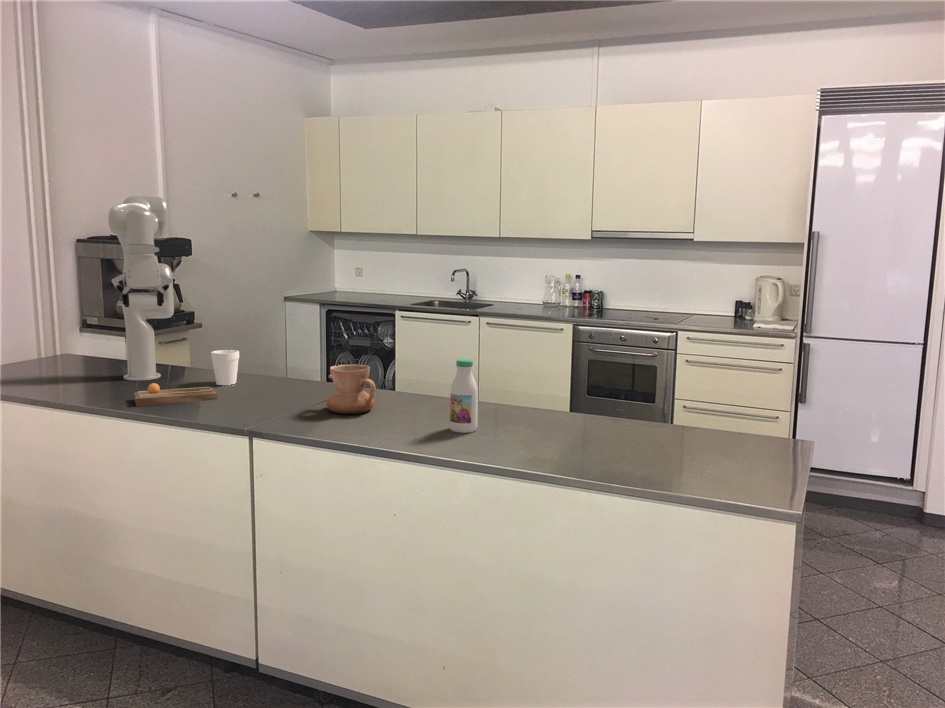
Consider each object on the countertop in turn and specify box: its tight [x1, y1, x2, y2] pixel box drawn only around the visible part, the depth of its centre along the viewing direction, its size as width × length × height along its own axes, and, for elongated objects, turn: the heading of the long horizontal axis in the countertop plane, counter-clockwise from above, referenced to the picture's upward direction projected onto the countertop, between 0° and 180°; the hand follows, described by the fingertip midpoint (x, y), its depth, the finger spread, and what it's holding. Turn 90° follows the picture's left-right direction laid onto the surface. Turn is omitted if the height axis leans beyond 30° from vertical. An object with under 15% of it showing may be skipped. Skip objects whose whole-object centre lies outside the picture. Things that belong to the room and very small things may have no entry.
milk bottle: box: [449, 358, 479, 434], centre depth 203 cm, size 8×8×20 cm
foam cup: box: [210, 349, 240, 386], centre depth 260 cm, size 10×9×13 cm
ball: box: [147, 382, 161, 394], centre depth 234 cm, size 4×4×4 cm
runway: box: [134, 386, 218, 408], centre depth 237 cm, size 12×24×3 cm, turn 117°
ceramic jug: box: [326, 364, 376, 415], centre depth 223 cm, size 18×14×14 cm
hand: (143, 306), depth 226 cm, fingers open, 9 cm apart
